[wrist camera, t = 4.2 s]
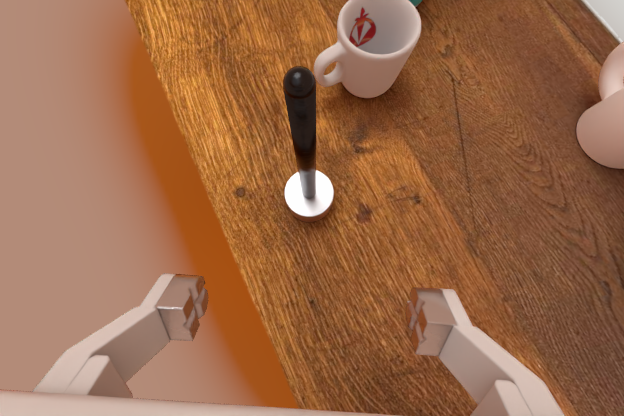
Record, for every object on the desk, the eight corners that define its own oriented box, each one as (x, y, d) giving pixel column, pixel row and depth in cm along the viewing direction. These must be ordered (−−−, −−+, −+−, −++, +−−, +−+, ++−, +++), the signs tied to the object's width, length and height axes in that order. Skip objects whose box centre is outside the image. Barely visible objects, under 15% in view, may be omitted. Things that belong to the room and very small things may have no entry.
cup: (330, 127, 33) (334, 83, 25) (301, 74, 35) (296, 17, 27) (410, 91, 34) (438, 37, 26) (378, 41, 36) (395, -24, 28)
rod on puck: (335, 219, 31) (369, 122, 11) (289, 224, 31) (239, 136, 11) (329, 176, 32) (351, 16, 12) (285, 180, 32) (233, 27, 12)
